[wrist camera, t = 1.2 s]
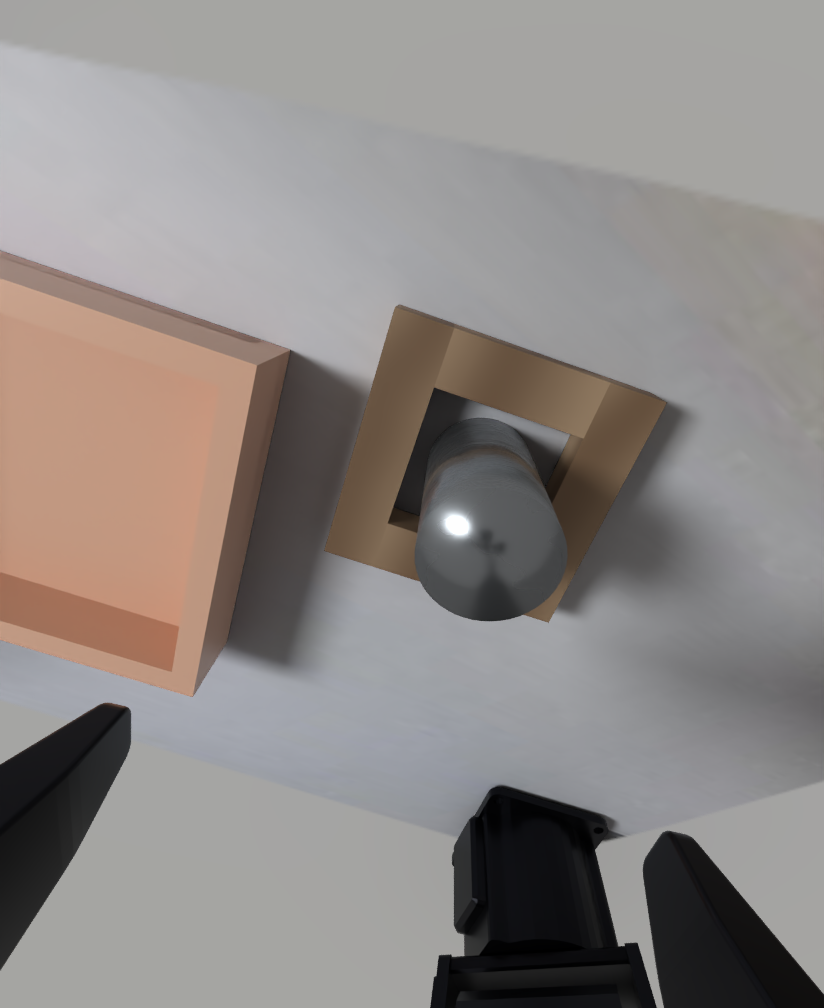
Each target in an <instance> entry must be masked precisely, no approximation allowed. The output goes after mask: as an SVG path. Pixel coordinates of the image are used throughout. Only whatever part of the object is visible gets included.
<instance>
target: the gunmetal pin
mask: <svg viewBox="0 0 824 1008" xmlns="http://www.w3.org/2000/svg"><path fill="white" fill-rule="evenodd" d="M566 565H567V544H566V538H565V536H564V533H563V530H562V528H561V525H560V523H559V520H558V518H557V516H556V513H555V511H554V509H553V506H552V504H551V501H550V499H549V497H548V494H547V492H546V490H545V487H544V485H543V482H542V480H541V478H540V475H539V473H538V471H537V468H536V466H535V463H534V461H533V459H532V456H531V454H530V451H529V449H528V447H527V445H526V443H525V441H524V440H523V438H522V437H521V436H520V435H519V434H518V433H517V432H516V431H515V430H514V429H513V428H511V427H510V426H508V425H507V424H505V423H503V422H500V421H497V420H494V419H488V418H473V419H468V420H464V421H461V422H458V423H456V424H454V425H453V426H451V427H449V428H448V429H447V430H445V431H444V432H443V433H442V434H441V435H440V436H439V437H438V439H437V440H436V441H435V443H434V445H433V446H432V449H431V451H430V454H429V457H428V463H427V470H426V477H425V484H424V490H423V497H422V504H421V511H420V518H419V525H418V531H417V538H416V545H415V566H416V571H417V574H418V577H419V579H420V582H421V584H422V586H423V587H424V589H425V590H426V592H427V593H428V594H429V595H430V596H431V597H432V599H433V600H435V601H436V602H437V603H438V604H439V605H441V606H442V607H443V608H445V609H446V610H448V611H450V612H452V613H454V614H456V615H459V616H462V617H464V618H468V619H472V620H479V621H501V620H507V619H511V618H515V617H518V616H521V615H523V614H526V613H528V612H530V611H531V610H533V609H535V608H537V607H538V606H539V605H541V604H542V603H543V602H544V601H546V600H547V599H548V598H549V597H550V596H551V594H552V593H553V592H554V591H555V590H556V588H557V587H558V585H559V583H560V582H561V579H562V577H563V575H564V572H565V568H566Z"/></svg>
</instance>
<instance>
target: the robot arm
mask: <svg viewBox="0 0 824 1008" xmlns="http://www.w3.org/2000/svg"><path fill="white" fill-rule="evenodd" d="M130 745H131V711H130V709H129V708H128V707H126V706H121V705H117V704H112V703H103V704H100V705H98V706H97V707H95V708H93V709H92V710H90V711H88V712H87V713H85V714H83V715H82V716H80V717H78V718H77V719H75V720H73V721H72V722H70V723H68V724H67V725H65V726H64V727H62V728H60V729H58V730H57V731H55V732H54V733H52V734H50V735H49V736H47V737H45V738H43V739H42V740H40V741H39V742H37V743H35V744H34V745H32V746H30V747H29V748H27V749H25V750H24V751H22V752H20V753H19V754H17V755H15V756H14V757H12V758H10V759H9V760H7V761H5V762H4V763H2V764H0V970H1V969H2V967H3V966H4V964H5V963H6V961H7V959H8V958H9V956H10V955H11V953H12V952H13V950H14V949H15V947H16V946H17V944H18V942H19V941H20V939H21V938H22V936H23V935H24V933H25V932H26V930H27V928H28V927H29V925H30V924H31V922H32V921H33V919H34V918H35V916H36V915H37V913H38V912H39V910H40V908H41V907H42V905H43V904H44V902H45V901H46V899H47V898H48V896H49V895H50V893H51V892H52V890H53V889H54V887H55V885H56V884H57V882H58V881H59V879H60V878H61V876H62V875H63V873H64V871H65V870H66V868H67V867H68V865H69V863H70V861H71V860H72V859H73V857H74V855H75V853H76V852H77V850H78V848H79V846H80V844H81V842H82V841H83V839H84V837H85V835H86V833H87V831H88V829H89V827H90V825H91V823H92V821H93V820H94V818H95V816H96V814H97V812H98V810H99V808H100V806H101V804H102V803H103V801H104V799H105V797H106V795H107V793H108V791H109V789H110V787H111V785H112V784H113V782H114V780H115V778H116V776H117V774H118V772H119V770H120V768H121V766H122V765H123V763H124V760H125V759H126V757H127V754H128V752H129V749H130ZM607 833H608V826H607V823H606V820H605V819H604V818H601V817H598V816H595V815H592V814H588V813H585V812H582V811H578V810H575V809H571V808H568V807H565V806H561V805H558V804H555V803H551V802H548V801H545V800H541V799H538V798H535V797H531V796H528V795H524V794H521V793H518V792H514V791H511V790H508V789H504V788H500V787H495V788H492V789H490V790H489V792H488V793H487V795H486V797H485V799H484V800H483V802H482V804H481V806H480V807H479V809H478V811H477V812H476V814H475V816H473V817H472V818H470V819H469V821H468V822H467V824H466V826H465V828H464V829H463V831H462V833H461V835H460V836H459V838H458V840H457V842H456V844H455V846H454V852H453V855H452V865H453V866H454V926H455V929H456V931H457V932H458V933H460V934H464V955H465V956H460V957H452V956H451V955H439V959H438V968H437V976H435V977H434V982H433V990H432V999H431V1007H430V1008H657V1007H656V1004H655V1000H654V997H653V994H652V990H651V987H650V984H649V980H648V977H647V973H646V970H645V967H644V963H643V960H642V956H641V953H640V950H639V946H638V943H625V946H620V947H618V943H617V939H616V935H615V930H614V926H613V922H612V918H611V914H610V910H609V906H608V902H607V898H606V893H605V889H604V885H603V881H602V877H601V873H600V869H599V865H598V861H597V856H596V853H595V849H596V848H597V846H598V845H599V844H600V842H601V841H602V840H603V839H604V837H605V836H606V835H607ZM643 878H644V885H645V892H646V899H647V906H648V913H649V919H650V926H651V933H652V940H653V947H654V954H655V962H656V968H657V974H658V980H659V986H660V990H661V995H662V1000H663V1005H664V1008H824V994H823V993H822V992H821V990H820V989H819V988H818V987H817V986H816V984H815V983H814V982H813V981H812V980H811V978H810V977H809V976H808V975H807V974H806V972H805V971H804V970H803V969H802V968H801V966H800V965H799V964H798V963H797V962H796V960H795V959H794V958H793V957H792V956H791V954H790V953H789V952H788V951H787V950H786V949H785V947H784V946H783V945H782V944H781V943H780V941H779V940H778V939H777V938H776V937H775V935H774V934H773V933H772V932H771V931H770V929H769V928H768V927H767V926H766V925H765V923H764V922H763V921H762V920H761V919H760V918H759V916H758V915H757V914H756V913H755V911H754V910H753V909H752V908H751V907H750V905H749V904H748V903H747V902H746V901H745V899H744V898H743V897H742V896H741V895H740V893H739V892H738V891H737V890H736V889H735V888H734V886H733V885H732V884H731V883H730V882H729V880H728V879H727V878H726V877H725V876H724V874H723V873H722V872H721V871H720V870H719V868H718V867H717V866H716V865H715V864H714V863H713V861H712V860H711V859H710V858H709V856H708V855H707V854H706V853H705V852H704V850H703V849H702V848H701V847H700V846H699V844H698V843H697V842H696V841H695V840H694V839H693V838H692V837H690V836H688V835H685V834H681V833H677V832H672V831H665V832H663V833H662V834H661V836H660V837H659V838H658V840H657V841H656V843H655V844H654V846H653V847H652V849H651V850H650V852H649V853H648V855H647V856H646V858H645V860H644V864H643Z"/></svg>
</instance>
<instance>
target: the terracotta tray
mask: <svg viewBox="0 0 824 1008" xmlns="http://www.w3.org/2000/svg"><path fill="white" fill-rule="evenodd" d="M289 355H290V350H289V349H286V348H284V347H281V346H278V345H275V344H272V343H269V342H266V341H263V340H260V339H257V338H254V337H251V336H248V335H246V334H243V333H240V332H237V331H234V330H231V329H228V328H225V327H222V326H219V325H216V324H213V323H210V322H207V321H205V320H202V319H199V318H196V317H193V316H190V315H187V314H184V313H181V312H178V311H175V310H172V309H169V308H167V307H164V306H161V305H158V304H155V303H152V302H149V301H146V300H143V299H140V298H137V297H134V296H131V295H129V294H126V293H123V292H120V291H117V290H114V289H111V288H108V287H105V286H102V285H99V284H96V283H93V282H91V281H88V280H85V279H82V278H79V277H76V276H73V275H70V274H67V273H64V272H61V271H58V270H55V269H53V268H50V267H47V266H44V265H41V264H38V263H35V262H32V261H29V260H26V259H23V258H20V257H17V256H15V255H12V254H9V253H6V252H3V251H0V640H2V641H5V642H9V643H12V644H16V645H19V646H22V647H26V648H29V649H32V650H36V651H39V652H42V653H46V654H49V655H53V656H56V657H59V658H63V659H66V660H69V661H73V662H76V663H79V664H83V665H86V666H90V667H93V668H96V669H100V670H103V671H106V672H110V673H113V674H116V675H120V676H123V677H127V678H130V679H133V680H137V681H140V682H143V683H147V684H150V685H153V686H157V687H160V688H163V689H167V690H170V691H174V692H177V693H180V694H184V695H187V696H190V697H193V696H194V694H195V693H196V691H197V689H198V688H199V686H200V685H201V683H202V681H203V680H204V678H205V676H206V675H207V673H208V672H209V670H210V668H211V667H212V665H213V664H214V662H215V660H216V659H217V657H218V655H219V654H220V652H221V651H222V649H223V647H224V646H225V644H226V643H227V639H228V634H229V630H230V625H231V621H232V616H233V611H234V607H235V602H236V598H237V593H238V588H239V584H240V579H241V575H242V570H243V566H244V561H245V556H246V552H247V547H248V543H249V538H250V533H251V529H252V524H253V520H254V515H255V511H256V506H257V501H258V497H259V492H260V488H261V483H262V479H263V474H264V469H265V465H266V460H267V456H268V451H269V446H270V442H271V437H272V433H273V428H274V424H275V419H276V414H277V410H278V405H279V401H280V396H281V391H282V387H283V382H284V378H285V373H286V369H287V364H288V359H289Z"/></svg>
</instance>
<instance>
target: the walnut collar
mask: <svg viewBox="0 0 824 1008" xmlns="http://www.w3.org/2000/svg"><path fill="white" fill-rule="evenodd" d="M434 387H435V388H437V389H440V390H443V391H446V392H449V393H452V394H455V395H458V396H461V397H464V398H467V399H470V400H472V401H475V402H478V403H481V404H484V405H487V406H490V407H493V408H496V409H499V410H502V411H504V412H507V413H510V414H513V415H516V416H519V417H522V418H525V419H528V420H531V421H534V422H537V423H539V424H542V425H545V426H548V427H551V428H554V429H557V430H560V431H563V432H566V433H569V434H571V435H570V437H569V439H568V441H567V444H566V446H565V448H564V450H563V452H562V454H561V456H560V458H559V461H558V463H557V465H556V467H555V469H554V471H553V473H552V475H551V478H550V480H549V482H548V484H547V486H546V488H545V490H546V492H547V494H548V497H549V499H550V501H551V504H552V506H553V509H554V511H555V513H556V516H557V518H558V520H559V523H560V525H561V528H562V530H563V533H564V536H565V538H566V544H567V565H566V568H565V572H564V575H563V577H562V579H561V582H560V583H559V585H558V587H557V588H556V590H555V591H554V592H553V593H552V594H551V596H550V597H549V598H548V599H547V600H546V601H544V602H543V603H542V604H541V605H539V606H538V607H537V608H535V609H533V610H531V611H530V612H528V613H526V614H523V615H526V616H529V617H533V618H536V619H539V620H542V621H545V622H548V623H549V621H550V619H551V617H552V615H553V613H554V611H555V610H556V608H557V606H558V604H559V602H560V600H561V598H562V597H563V595H564V593H565V591H566V589H567V587H568V585H569V584H570V582H571V580H572V578H573V576H574V574H575V572H576V571H577V569H578V567H579V565H580V563H581V561H582V559H583V558H584V556H585V554H586V552H587V550H588V548H589V546H590V545H591V543H592V541H593V539H594V537H595V535H596V533H597V532H598V530H599V528H600V526H601V524H602V522H603V520H604V519H605V517H606V515H607V513H608V511H609V509H610V507H611V506H612V504H613V502H614V500H615V498H616V496H617V494H618V493H619V491H620V489H621V487H622V485H623V483H624V481H625V480H626V478H627V476H628V474H629V472H630V470H631V468H632V467H633V465H634V463H635V461H636V459H637V457H638V455H639V454H640V452H641V450H642V448H643V446H644V444H645V442H646V441H647V439H648V437H649V435H650V433H651V431H652V429H653V428H654V426H655V424H656V422H657V420H658V418H659V416H660V415H661V413H662V411H663V409H664V407H665V405H666V403H667V402H665V401H664V400H662V399H660V398H659V397H657V396H655V395H654V394H652V393H650V392H647V391H644V390H641V389H638V388H635V387H633V386H630V385H627V384H624V383H621V382H618V381H616V380H613V379H610V378H607V377H604V376H601V375H598V374H596V373H593V372H590V371H587V370H584V369H581V368H579V367H576V366H573V365H570V364H567V363H564V362H562V361H559V360H556V359H553V358H550V357H547V356H544V355H542V354H539V353H536V352H533V351H530V350H527V349H525V348H522V347H519V346H516V345H513V344H510V343H508V342H505V341H502V340H499V339H496V338H493V337H490V336H488V335H485V334H482V333H479V332H476V331H473V330H471V329H468V328H465V327H462V326H459V325H456V324H454V323H451V322H448V321H445V320H442V319H439V318H436V317H434V316H431V315H428V314H425V313H422V312H419V311H417V310H414V309H411V308H408V307H405V306H402V305H398V306H396V307H395V309H394V312H393V316H392V319H391V323H390V326H389V330H388V333H387V337H386V340H385V343H384V347H383V350H382V354H381V357H380V361H379V364H378V367H377V371H376V374H375V378H374V381H373V385H372V388H371V391H370V395H369V398H368V402H367V405H366V409H365V412H364V416H363V419H362V422H361V426H360V429H359V433H358V436H357V440H356V443H355V446H354V450H353V453H352V457H351V460H350V464H349V467H348V471H347V474H346V477H345V481H344V484H343V488H342V491H341V495H340V498H339V501H338V505H337V508H336V512H335V515H334V519H333V522H332V525H331V529H330V532H329V536H328V539H327V543H326V546H325V550H324V551H326V552H329V553H332V554H335V555H339V556H342V557H345V558H348V559H351V560H354V561H357V562H360V563H364V564H367V565H370V566H373V567H376V568H379V569H382V570H385V571H389V572H392V573H395V574H398V575H401V576H404V577H407V578H411V579H414V580H417V581H420V579H419V577H418V574H417V571H416V566H415V545H416V538H417V531H418V525H419V518H420V516H417V515H414V514H411V513H408V512H405V511H402V510H399V509H396V508H393V506H394V503H395V500H396V497H397V494H398V492H399V489H400V486H401V483H402V480H403V477H404V474H405V471H406V468H407V465H408V462H409V459H410V456H411V453H412V451H413V448H414V445H415V442H416V439H417V436H418V433H419V430H420V427H421V424H422V421H423V418H424V415H425V413H426V410H427V407H428V404H429V401H430V398H431V395H432V392H433V389H434Z"/></svg>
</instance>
